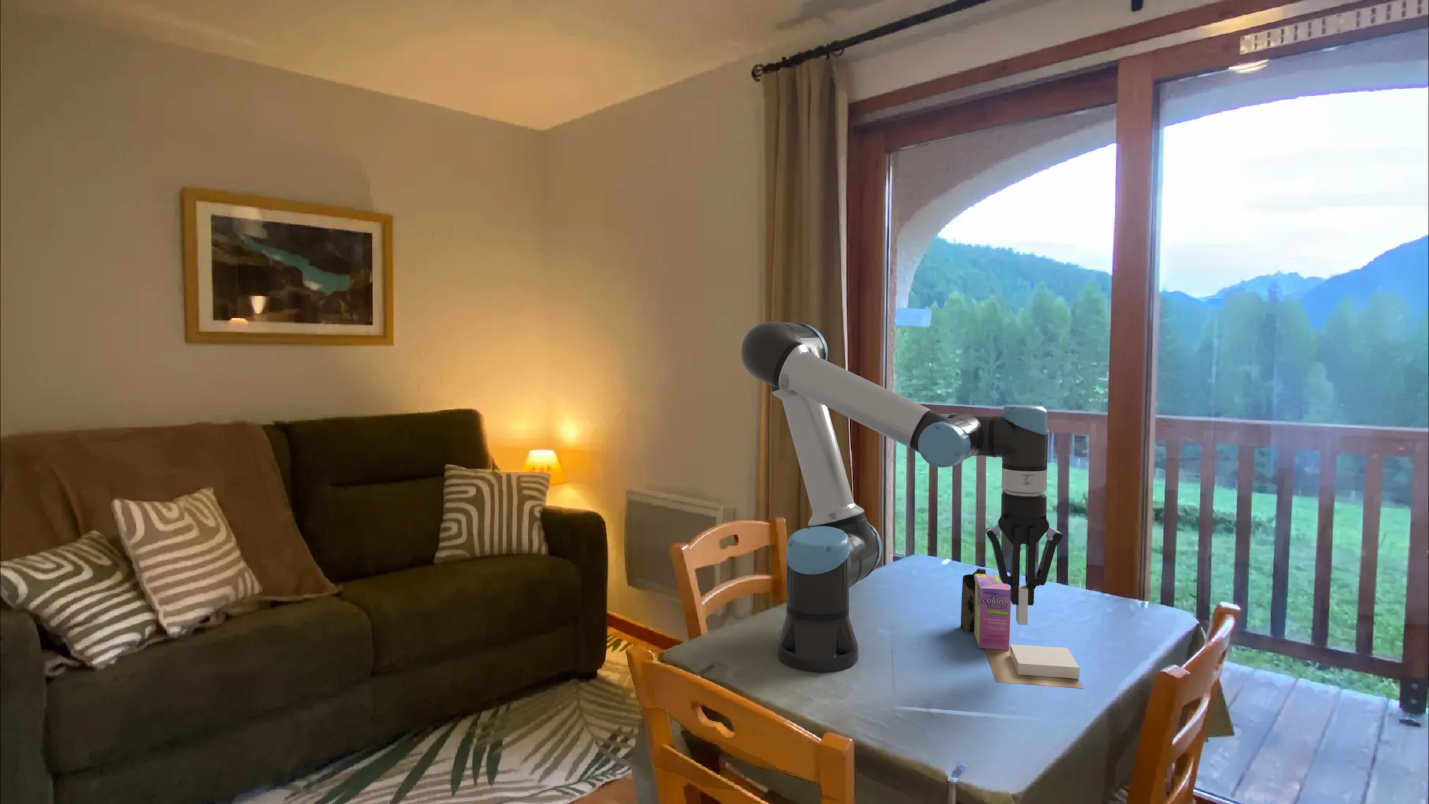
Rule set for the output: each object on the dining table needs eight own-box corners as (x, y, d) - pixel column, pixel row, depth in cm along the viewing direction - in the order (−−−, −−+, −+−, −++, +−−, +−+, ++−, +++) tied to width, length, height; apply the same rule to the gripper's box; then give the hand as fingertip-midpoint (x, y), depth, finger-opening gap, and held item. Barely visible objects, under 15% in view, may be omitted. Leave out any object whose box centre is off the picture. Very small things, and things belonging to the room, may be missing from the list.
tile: (1018, 663, 140) (1079, 667, 138) (1009, 644, 148) (1067, 647, 147) (1018, 675, 140) (1079, 679, 138) (1009, 655, 149) (1067, 659, 147)
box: (1010, 651, 151) (1011, 589, 150) (978, 648, 152) (979, 587, 151) (1002, 632, 161) (1003, 574, 160) (972, 630, 162) (973, 573, 161)
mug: (984, 637, 158) (985, 578, 158) (956, 632, 161) (957, 573, 161) (995, 626, 165) (996, 569, 164) (968, 621, 168) (969, 565, 167)
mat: (996, 684, 137) (996, 681, 137) (983, 649, 153) (983, 646, 153) (1083, 691, 135) (1083, 688, 135) (1061, 654, 150) (1061, 651, 150)
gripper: (988, 495, 139) (986, 627, 141) (1068, 497, 137) (1065, 631, 138) (982, 487, 147) (980, 613, 148) (1058, 489, 144) (1055, 617, 146)
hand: (1021, 621), depth 143 cm, fingers closed
